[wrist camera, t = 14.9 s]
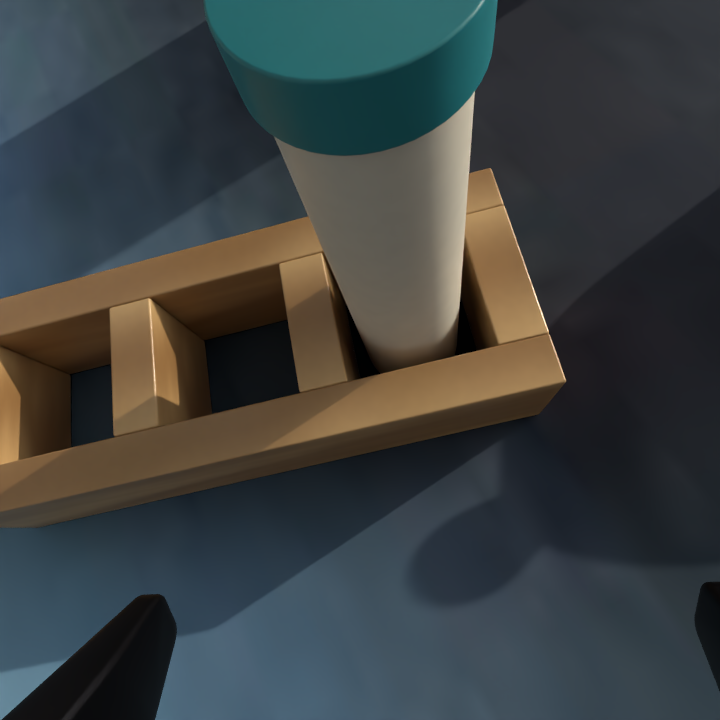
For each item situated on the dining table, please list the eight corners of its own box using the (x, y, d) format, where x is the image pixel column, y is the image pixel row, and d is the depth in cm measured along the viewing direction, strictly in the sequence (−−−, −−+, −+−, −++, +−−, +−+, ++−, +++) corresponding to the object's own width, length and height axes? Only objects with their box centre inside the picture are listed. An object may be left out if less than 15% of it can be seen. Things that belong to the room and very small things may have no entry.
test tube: (395, 410, 18) (283, 138, 5) (344, 330, 19) (158, -43, 7) (483, 356, 18) (571, -35, 5) (426, 280, 19) (394, -178, 7)
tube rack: (540, 414, 17) (567, 381, 13) (36, 528, 18) (-68, 527, 15) (482, 236, 19) (491, 166, 16) (39, 350, 21) (-49, 311, 17)
